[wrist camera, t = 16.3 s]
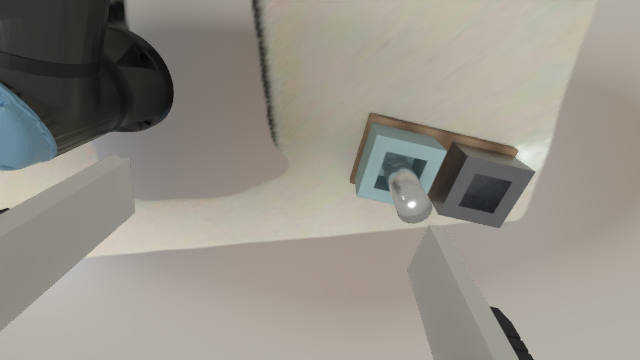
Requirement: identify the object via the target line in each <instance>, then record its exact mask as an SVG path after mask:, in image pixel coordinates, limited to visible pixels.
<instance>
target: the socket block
mask: <svg viewBox="0 0 640 360" xmlns="http://www.w3.org/2000/svg"><path fill="white" fill-rule="evenodd" d="M534 174H535V171H534V170H532V169H531V168H529V167H528V166H526V165H525V164H524V163H522V162H521V161H519V160H518V159H516V158H515V157H513V156H512V155H507V154H503V153H499V152H495V151H491V150H486V149H482V148H478V147H474V146H469V145H465V144H461V143H457V142H453V141H452V143H451V145H450V148H449V150H448V152H447V154H446V156H445V158H444V161H443V163H442V165H441V167H440V169H439V171H438V173H437V176H436V178H435V180H434V182H433V184H432V186H431V189H430V191H429V193H428V197H429V199H430V200H431V202H432V204H433V206H434V207H435V209H436V211H437V213H438V215H443V216H447V217H452V218H456V219H461V220H465V221H470V222H474V223H479V224H483V225H488V226H492V227H497V228H500V227H501V225H502V224H503V222H504V220H505V219H506V217H507V216H508V214H509V213H510V211H511V210H512V208H513V206H514V205H515V203H516V202H517V200H518V199H519V197H520V195H521V194H522V192H523V191H524V189H525V188H526V186H527V185H528V183H529V181H530V180H531V178H532V177H533V175H534Z"/></svg>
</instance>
